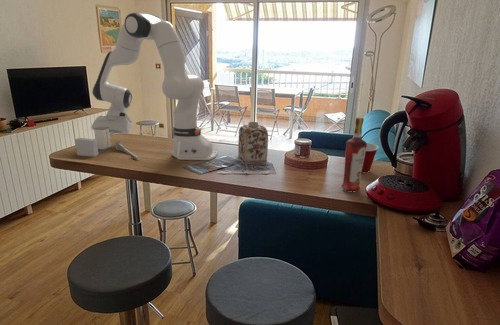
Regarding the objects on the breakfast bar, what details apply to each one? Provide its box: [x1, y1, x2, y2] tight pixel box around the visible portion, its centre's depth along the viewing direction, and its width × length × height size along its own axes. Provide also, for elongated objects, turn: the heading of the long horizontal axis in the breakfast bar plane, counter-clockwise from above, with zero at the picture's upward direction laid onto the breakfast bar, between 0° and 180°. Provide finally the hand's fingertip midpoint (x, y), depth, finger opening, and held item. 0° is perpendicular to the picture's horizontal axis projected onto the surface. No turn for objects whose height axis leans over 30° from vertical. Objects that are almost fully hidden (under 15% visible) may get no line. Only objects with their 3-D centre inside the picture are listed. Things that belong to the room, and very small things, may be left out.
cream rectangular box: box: [93, 126, 112, 150], centre depth 166 cm, size 5×5×11 cm
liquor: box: [341, 116, 368, 193], centre depth 122 cm, size 7×7×28 cm
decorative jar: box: [237, 121, 269, 163], centre depth 159 cm, size 12×12×18 cm
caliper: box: [115, 140, 141, 161], centre depth 160 cm, size 20×1×6 cm, turn 49°
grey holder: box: [74, 137, 115, 158], centre depth 161 cm, size 14×18×9 cm
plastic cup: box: [362, 142, 380, 173], centre depth 146 cm, size 11×11×12 cm
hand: (106, 138), depth 169 cm, fingers closed, pressing on cream rectangular box
